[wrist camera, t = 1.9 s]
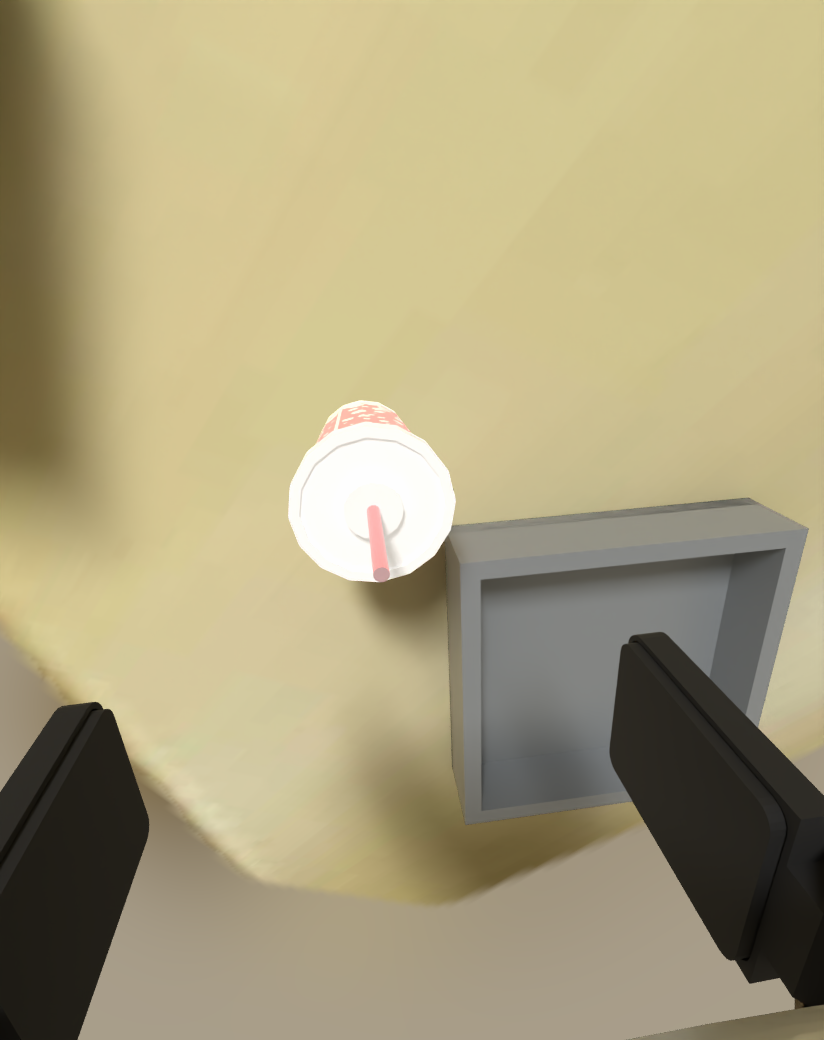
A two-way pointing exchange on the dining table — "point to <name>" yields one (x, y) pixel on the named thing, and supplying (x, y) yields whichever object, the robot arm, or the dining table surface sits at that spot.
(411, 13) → the dining table surface
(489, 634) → the box
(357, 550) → the beverage cup
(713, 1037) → the robot arm
